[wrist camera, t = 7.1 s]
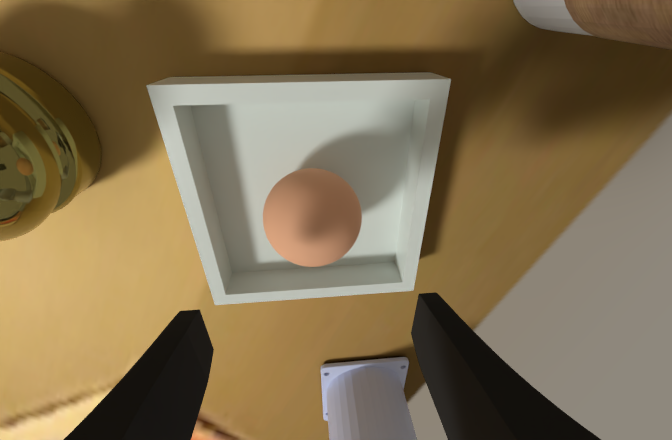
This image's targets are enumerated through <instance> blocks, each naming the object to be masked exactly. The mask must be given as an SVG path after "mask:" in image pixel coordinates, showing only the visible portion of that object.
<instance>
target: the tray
mask: <svg viewBox="0 0 672 440" xmlns="http://www.w3.org/2000/svg"><path fill="white" fill-rule="evenodd" d="M450 83H451V79H449V78H446V77H443V76H440V75H437V74H434V73H431V72H418V73H363V74H309V75H254V76H200V77H168V78H165V79H163V80H160V81H157V82H154V83H151V84H148V85H146V86H147V89H148V92H149V96H150V99H151V102H152V105H153V108H154V112H155V115H156V118H157V121H158V124H159V128H160V131H161V134H162V137H163V140H164V144H165V147H166V150H167V153H168V156H169V159H170V163H171V166H172V169H173V172H174V175H175V179H176V182H177V185H178V188H179V191H180V195H181V198H182V201H183V204H184V207H185V211H186V214H187V217H188V220H189V223H190V227H191V230H192V233H193V236H194V239H195V242H196V246H197V249H198V252H199V255H200V258H201V262H202V265H203V268H204V271H205V274H206V278H207V281H208V284H209V287H210V290H211V294H212V297H213V300H214V303H215V305H223V304H237V303H250V302H264V301H278V300H291V299H305V298H319V297H332V296H346V295H359V294H373V293H387V292H400V291H413V289H414V284H415V278H416V273H417V267H418V261H419V256H420V250H421V245H422V239H423V234H424V228H425V222H426V217H427V211H428V206H429V200H430V194H431V189H432V183H433V178H434V172H435V166H436V161H437V155H438V150H439V144H440V139H441V133H442V127H443V122H444V116H445V111H446V105H447V99H448V94H449V88H450ZM306 168H318V169H324V170H327V171H330V172H332V173H335V174H337V175H338V176H340V177H341V178H342V179H344V180H345V181H346V182H347V183H348V184H349V185H350V186H351V187H352V189H353V190H354V192H355V193H356V195H357V198H358V200H359V203H360V206H361V213H362V223H361V228H360V232H359V235H358V237H357V240H356V242H355V243H354V245H353V246H352V248H351V249H350V250H349V251H348V252H347V253H346V254H345V255H344V256H343V257H341V258H340V259H338V260H337V261H335V262H333V263H330V264H327V265H324V266H318V267H306V266H300V265H297V264H294V263H292V262H290V261H288V260H286V259H285V258H283V257H282V256H281V255H280V254H278V253H277V252H276V251H275V250H274V248H273V247H272V245H271V244H270V242H269V240H268V239H267V236H266V233H265V230H264V226H263V209H264V205H265V201H266V199H267V196H268V194H269V193H270V191H271V190H272V188H273V187H274V186H275V184H276V183H277V182H278V181H280V180H281V179H282V178H283V177H285V176H286V175H288V174H290V173H292V172H294V171H297V170H301V169H306Z"/></svg>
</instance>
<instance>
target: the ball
mask: <svg viewBox="0 0 672 440" xmlns="http://www.w3.org/2000/svg"><path fill="white" fill-rule="evenodd" d="M361 223H362V213H361V206H360V203H359V200H358V198H357V195H356V193H355V192H354V190H353V189H352V187H351V186H350V185H349V184H348V183H347V182H346V181H345V180H344V179H342V178H341V177H340V176H338V175H337V174H335V173H332V172H330V171H327V170H324V169H318V168H306V169H301V170H297V171H294V172H292V173H290V174H288V175H286V176H285V177H283V178H282V179H281V180H280V181H278V182H277V183H276V184H275V186H274V187H273V188H272V190H271V191H270V193H269V194H268V196H267V199H266V201H265V205H264V209H263V226H264V230H265V233H266V236H267V239H268V240H269V242H270V244H271V245H272V247H273V248H274V250H275V251H276V252H277V253H278V254H280V255H281V256H282V257H283V258H285V259H286V260H288V261H290V262H292V263H294V264H297V265H300V266H306V267H318V266H324V265H327V264H330V263H333V262H335V261H337V260H338V259H340V258H341V257H343V256H344V255H345V254H346V253H347V252H348V251H349V250H350V249H351V248H352V246H353V245H354V243H355V242H356V240H357V237H358V235H359V232H360V228H361Z"/></svg>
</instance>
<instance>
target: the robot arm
mask: <svg viewBox="0 0 672 440" xmlns="http://www.w3.org/2000/svg"><path fill="white" fill-rule="evenodd" d="M411 335H412V339H413V343H414V347H415V351H416V354H417V358H418V362H419V365H420V367H421V370H422V373H423V375H424V378H425V381H426V383H427V386H428V388H429V391H430V394H431V396H432V399H433V401H434V404H435V407H436V409H437V412H438V414H439V417H440V419H441V422H442V425H443V427H444V430H445V432H446V435H447V438H448V440H601V439H599V438H598V437H597V436H595V435H594V434H593V433H591V432H590V431H588V430H587V429H586V428H584V427H583V426H581V425H580V424H579V423H577V422H576V421H575V420H573V419H572V418H571V417H570V416H568V415H567V414H566V413H564V412H563V411H562V410H561V409H559V408H558V407H557V406H556V405H554V404H553V403H552V402H551V401H549V400H548V399H547V398H546V397H544V396H543V395H542V394H541V393H540V392H538V391H537V390H536V389H535V388H533V387H532V386H531V385H530V384H529V383H528V382H527V381H525V380H524V379H523V378H522V377H521V376H520V375H519V374H518V373H516V372H515V371H514V370H513V369H512V368H511V367H510V366H509V365H508V364H506V363H505V362H504V361H503V360H502V359H501V358H500V357H499V356H498V355H497V354H496V353H495V352H494V351H493V350H492V349H491V348H490V347H489V346H488V345H486V343H485V342H484V341H483V340H482V339H481V338H480V337H479V336H478V335H476V333H475V332H474V331H473V330H472V329H471V328H470V327H469V326H468V325H467V324H466V323H465V322H464V321H463V320H462V319H461V318H460V317H459V316H458V315H457V314H456V313H455V312H454V310H453V309H452V308H451V307H450V306H449V305H448V304H447V303H446V302H445V301H444V300H443V299H442V298H441V297H440V296H439V295H438V294H437V293H424V294H419V296H418V301H417V306H416V311H415V316H414V321H413V326H412V332H411ZM213 350H214V349H213V346H212V344H211V341H210V338H209V335H208V332H207V329H206V326H205V324H204V321H203V318H202V315H201V312H200V310H188V311H180V312H179V313H178V314H177V315H176V316H175V317H174V318H173V320H172V321H171V322H170V323H169V324H168V326H167V327H166V328H165V329H164V330H163V332H162V333H161V334H160V335H159V336H158V338H157V339H156V340H155V341H154V342H153V344H152V345H151V346H150V347H149V348H148V349H147V351H146V352H145V353H144V354H143V355H142V357H141V358H140V359H139V360H138V361H137V362H136V363H135V365H134V366H133V367H132V368H131V369H130V370H129V371H128V373H127V374H126V375H125V376H124V377H123V378H122V379H121V380H120V382H119V383H118V384H117V385H116V386H115V387H114V388H113V389H112V390H111V391H110V392H109V393H108V395H107V396H106V397H105V398H104V399H103V400H102V401H101V402H100V403H99V404H98V405H97V406H96V407H95V408H94V409H93V411H92V412H91V413H90V414H89V415H88V416H87V417H86V418H85V419H84V420H83V421H82V422H81V423H80V424H79V425H78V426H77V427H76V428H75V429H74V430H73V431H72V432H71V433H70V434H69V435H68V436H67V437H66V438H65V439H64V440H191V437H192V433H193V430H194V427H195V424H196V420H197V417H198V414H199V410H200V407H201V404H202V400H203V397H204V394H205V390H206V387H207V383H208V378H209V373H210V368H211V362H212V356H213ZM408 365H409V361H408V358H407V357H396V358H385V359H374V360H363V361H351V362H340V363H329V364H324V365H322V366H321V382H322V400H323V418H324V420H325V421H328V426H329V440H417V438H416V434H415V430H414V427H413V423H412V420H411V416H410V412H409V409H408V405H407V402H406V398H405V394H404V391H403V390H404V385H405V380H406V375H407V370H408Z"/></svg>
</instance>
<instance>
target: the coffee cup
mask: <svg viewBox="0 0 672 440" xmlns="http://www.w3.org/2000/svg"><path fill="white" fill-rule="evenodd" d="M513 1H514V4H515V6H516V8H517V10H518V11H519V13H520V14H521V16H522V17H523V18H524V19H525V20H527V21H528V22H529V23H530V24H532V25H534V26H536V27H538V28H541V29H546V30H552V31H559V32H566V33H574V34H582V35H590V36H595V37H599V38H605V39H611V40H617V41H623V42H629V43H635V44H641V45H646V46H652V47H658V48H664V49H670V50H672V0H513Z"/></svg>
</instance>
